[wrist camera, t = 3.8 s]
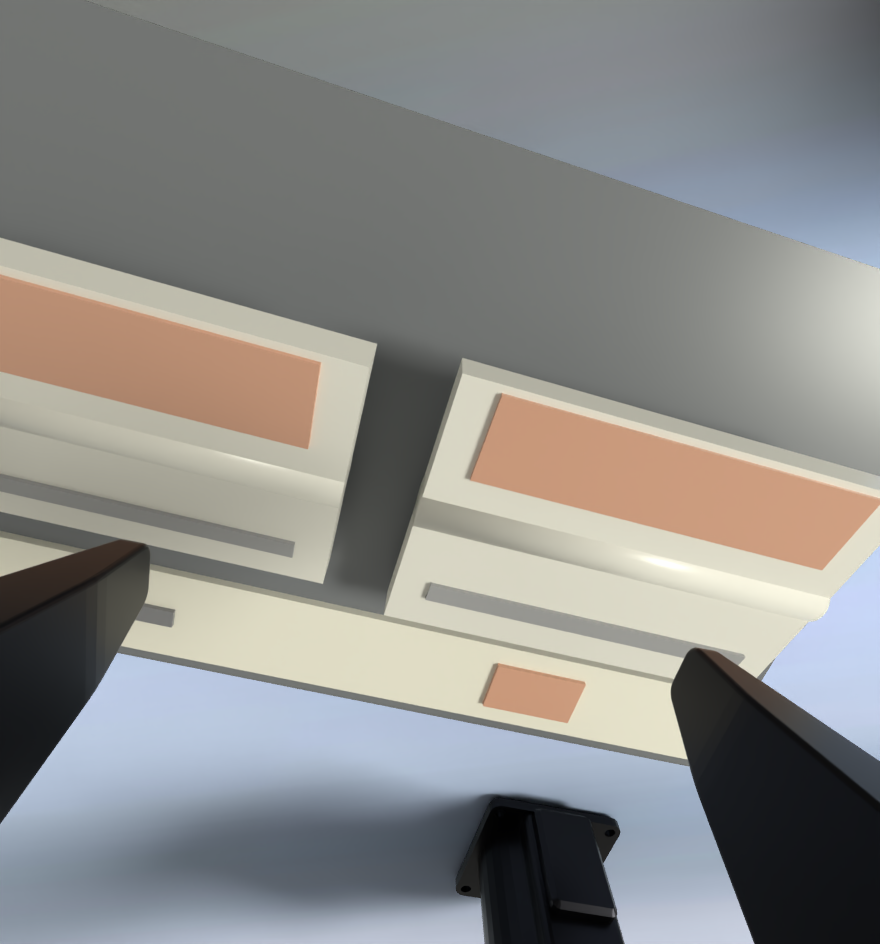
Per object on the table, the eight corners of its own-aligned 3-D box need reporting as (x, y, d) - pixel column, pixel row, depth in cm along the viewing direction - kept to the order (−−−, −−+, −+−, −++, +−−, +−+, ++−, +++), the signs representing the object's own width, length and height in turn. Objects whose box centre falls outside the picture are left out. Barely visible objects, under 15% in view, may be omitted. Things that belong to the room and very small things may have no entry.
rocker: (331, 553, 18) (321, 589, 17) (-69, 461, 16) (-108, 493, 15) (378, 339, 12) (368, 372, 11) (-209, 173, 11) (-283, 193, 10)
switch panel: (673, 710, 24) (711, 780, 21) (-57, 556, 20) (-147, 611, 17) (904, 299, 18) (1009, 308, 15) (-83, -29, 14) (-232, -113, 11)
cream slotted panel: (726, 663, 19) (744, 699, 18) (387, 586, 17) (382, 620, 16) (888, 476, 15) (925, 506, 14) (461, 354, 13) (462, 376, 12)
